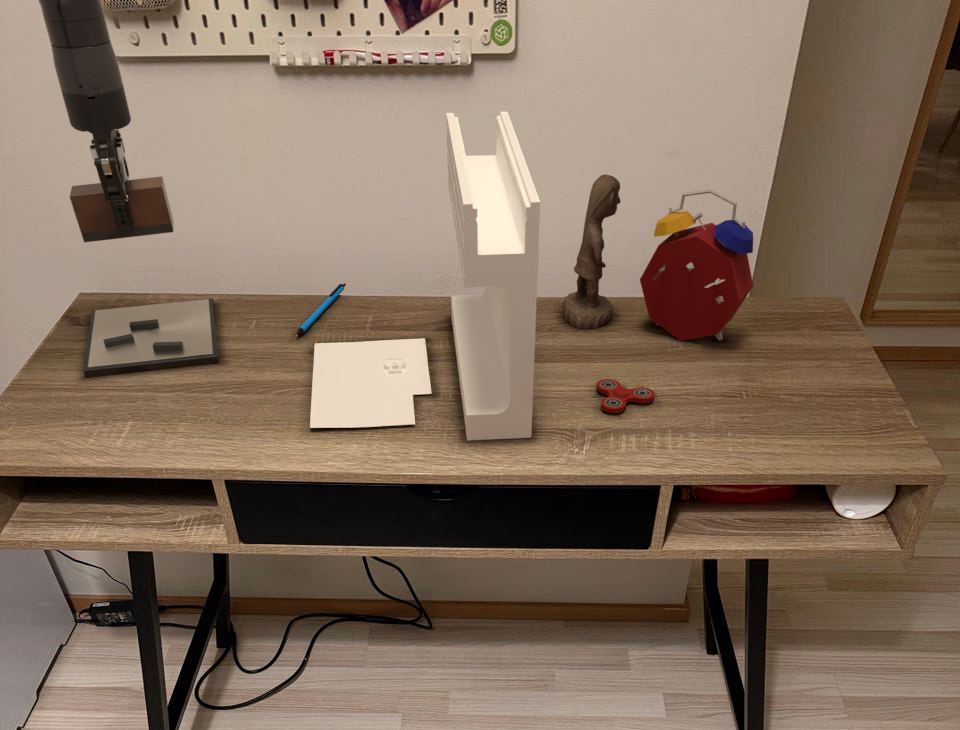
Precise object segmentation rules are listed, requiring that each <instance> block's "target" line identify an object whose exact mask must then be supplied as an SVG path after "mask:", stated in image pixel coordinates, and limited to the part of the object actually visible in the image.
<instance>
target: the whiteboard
mask: <svg viewBox="0 0 960 730" xmlns="http://www.w3.org/2000/svg"><path fill="white" fill-rule="evenodd" d="M155 319H158V323H159V327H157V328H148V329H138V330H130V326H129V324H130V322H135V321H145V320H155ZM127 334H132V335H133V337H134V342H131V343H126V344H122V345H117V346H113V347H108V348H106V346H105V344H104V341H103V340H104V339H109V338H113V337H118V336H123V335H127ZM181 341H182V342H183V349H182V350H171V351H154V350H153V344H154V342H181ZM219 358H220V357H219V347H218V335H217V325H216V313H215V303H214V298H203V299H193V300H183V301H182V300H181V301H173V302H164V303H153V304H143V305H133V306H123V307H114V308H103V309H94V310H91V315H90V322H89V330H88V336H87V344H86V351H85V358H84V365H83V374H84V377H85V378H92V377H100V376H101V377H102V376H113V375H118V374H119V375H120V374H129V373H138V372H146V371H154V370H155V371H156V370H164V369H166V370H167V369H173V368H182V367H192V366H201V365H209V364H219V362H220V359H219Z"/></svg>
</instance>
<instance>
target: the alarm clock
mask: <svg viewBox="0 0 960 730" xmlns="http://www.w3.org/2000/svg"><path fill="white" fill-rule="evenodd" d="M705 194H712V195H714V196H716V197H717V198H719V199H720V200H723V201H725V202H727V203H729V204H731V205H732V216H731V219H726V220H724V221H722V222H720V223H718V224H715V223H714V222H710V223H709V222H708V223H705V224H703V223H702V221H701V218H702V217H703V216H704V214H703V213H702V212H699V213H697V214H696V215H694V216H693V215H692V213H690V211H688V210H683V209H684V204H685V199H686V197H689V196H690V197H691V196H697V195H698V196H699V195H705ZM737 205H738V202H736V201H735V200H732V199H730V198H728V197H727V196H725V195H723V194H721V193H719V192H717V191H715V190H713V189H703V190H697V191H696V190H695V191H689V192H682V194H681V199H680V203H679V207H677V208H674V209H673V207H669V208H668V210H669V212H667V215H665V216H663V217H661V218H660V219H658V220H657V222H656V225H655V229H654V233H653V237H654V238H657V237H665V236H668V237H666V238H665V239H664V240H663V241H662V242H660V243H659V244H658V246H657V247H656V249H655V251H654V252H653V255H652V257H651V258H650V260H649V261H648V263H647V265H646V267H645V269H644V271H643V273H642V275H641V276H640V278H639V283H640V286H641V291H642V294H643V298H644V302H645V306H646V310H647V311H646V312H647V314H648V319H650V320H651V321H653V322H654V324H655V326H657V327H659V326H660V327H661V328H663V329H664V330H665V331H667V332H668V333H670V334H672V336H674V337H675V338H676V339H678V340H680V341H686V340H691V339H698V338H704V337H710V336H715V337H716V339H717V340H718V341H722V340H723V332H722V330H723V329H724V328H725V327H726V326H727V325H728V324H729V323H730V322H731V321H732V319H733V318H734V316H735V315H736V313H737V312H738V310H739V309H740V308H741V306H742V305H743V303H744V301H745V300H746V298H747V297H748V295H749V294H750V292H751V291H752V289H753V288H754V284H753V283H754V281H753V277H752V272H751V266H750V261H749V256H748V254H752V253H753V252H754V232H753V231H752V230H751V228H749V227H748V225H746V221H745V220H743V221H742V222H741V221H740V220H738V218H737V217H736V216H737V207H738V206H737ZM681 210H683V211H681ZM697 221H699V223H700V225H696V226H693V225H695V224H697ZM691 226H693V227H691Z"/></svg>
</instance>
